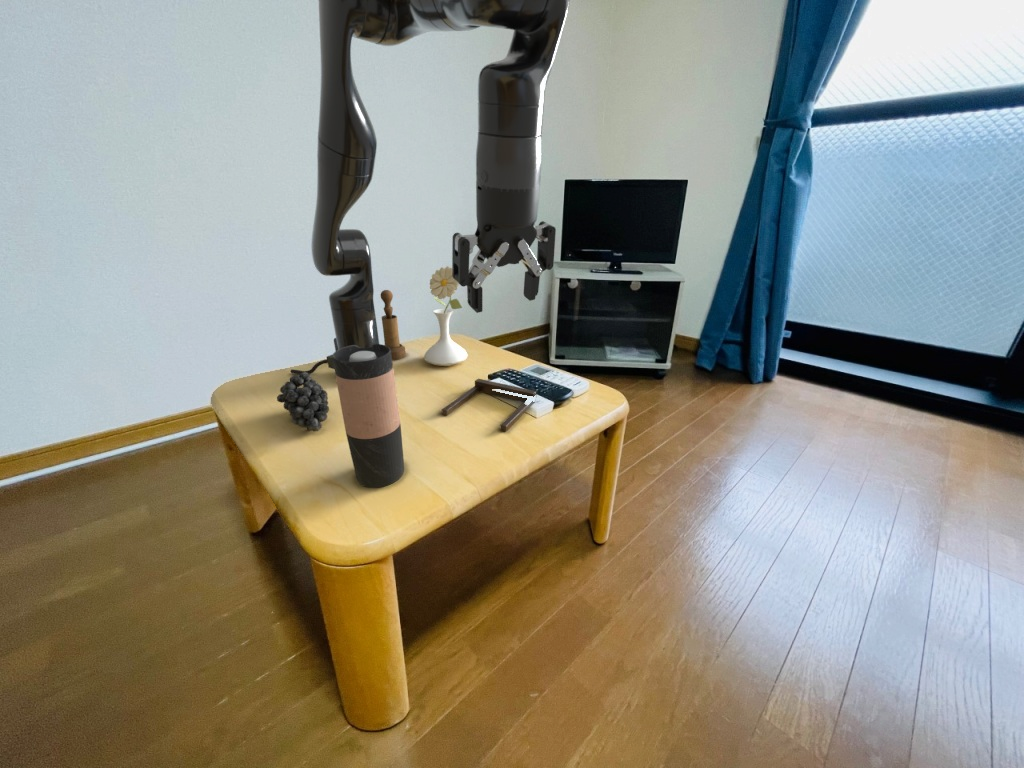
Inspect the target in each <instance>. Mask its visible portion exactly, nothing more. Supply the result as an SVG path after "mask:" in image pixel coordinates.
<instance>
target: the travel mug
mask: <svg viewBox="0 0 1024 768" xmlns="http://www.w3.org/2000/svg"><path fill="white" fill-rule="evenodd" d="M332 354H333V356H332V357H333V364H334V369H333V370H334V375H335V379H336V385H337V391H338V397H339V402H340V403H339V404H340V408H341V414H342V419H343V424H344V430H345V436H346V439H347V443H348V448H349V452H350V456H351V461H352V465H353V470H354V473H355V477H356V480H357V482H358V483H359V484H360V486H363V487H365V488H370V489H371V488H372V489H379V488H383V487H388V486H390V485H393V484H394V483H396V482H398V481H399V480H400V479H401V478H402V476H403V475H404V472H405V459H404V449H403V437H402V435H403V434H402V425H401V416H400V415H401V414H400V410H399V409H400V408H399V402H398V401H399V400H398V395H397V386H396V379H395V372H394V371H395V370H394V363H393V360H392V356H391V350H390V348H389V347H387V346H385V344H380V343H379V344H373V346H371V347H366V348H361V347H358V346H357V345H351V346H347V347H344V348H341V349H339V350H337V351H335V350H334V352H333V353H332Z"/></svg>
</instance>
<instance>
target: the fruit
mask: <svg viewBox="0 0 1024 768" xmlns="http://www.w3.org/2000/svg"><path fill="white" fill-rule="evenodd" d="M310 375H311V374H308V373H307V372H302V373H300V374H292V375H291V376H290V377H289V381H286V382H285V383H284V384H283V385H282V386H281V387H280V388H279V391H280V393H281V394H278V395H277V396H276V401H277V402H278V403H281V404H283V409H284V410H286V411H288V413H289V416H290V418H291V420H292V423H293V424H294V425H298V426H299V427H301V428H305V429H306V430H307V431H313V432H319V431H320V430H321V429H322V428H323V426H322V422H325V421H326V420H327V419H328V412H330V407H329V400H328V399H329V397H328V392H327V391H326V390H325V389H324V388H323V386H322V385H321V383H317V380H316V379H315V378H311V376H310Z"/></svg>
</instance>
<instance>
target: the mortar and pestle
mask: <svg viewBox="0 0 1024 768" xmlns="http://www.w3.org/2000/svg"><path fill="white" fill-rule="evenodd" d="M393 295H394V294H393V292H392V291H391V290H389V289H384V290H382V291H380V299H381V301H382V302H383V303H384V307H383V311H384V314H385V315H382V316H381V324H382V333H383V341H384V345H385V346H387V347H389V348H390V350H391V356H392V361H397V360H401V359H403V358H405V357H406V356H407V352H406V347H405V345H403V344H401V343H400V335H399V323H398V316H397V315H396V314H393V310H394V307H393V306H392V305H391V302H392V300H393V299H394V296H393Z"/></svg>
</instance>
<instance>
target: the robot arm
mask: <svg viewBox="0 0 1024 768" xmlns="http://www.w3.org/2000/svg"><path fill="white" fill-rule="evenodd" d="M570 2H571V0H318V21H319V24H318V25H319V26H318V27H319V50H320V52H319V53H320V92H319V110H318V111H319V113H318V127H317V153H316V154H317V155H316V160H317V161H316V163H317V165H316V167H317V170H316V173H317V175H316V178H317V179H316V201H315V209H314V215H313V216H314V217H313V223H312V224H313V225H312V233H311V244H310V245H311V247H310V248H311V257H312V262H313V265H314V268H315V269H316V271H317V272H318V273H319V274H321V275H322V276H326V277H340V276H341V277H342V276H349V279H348V280H347V282H346V283H345V284H344V285H342V286H341V287H339V288H338V289H337V288H336V289H335V290H333V291H332V292H330V294H328V302H329V306H330V313H331V318H332V324H333V329H334V335H335V337H334V339H333V345H334V352H335V351H337V350H339V349H341V348H344V347H347V346H351V345H357V346H358V347H361V348H366V347H371V346H373V344H380V340H379V339H380V338H379V331H378V324H377V317H376V316H377V315H376V310H375V301H374V293H375V291H374V290H375V289H374V288H375V287H374V280H373V266H372V256H371V249H370V244H369V241H368V238H367V237H366V235H365V233H363V231H361V230H360V229H357V228H356V229H355V228H341V225H342V223H343V221H344V219H345V217H346V216H347V214H348V213H349V211H350V210H351V209H353V207H354V206H355V204H356V203H357V202H358V201H359V200H360V199H361V198H362V196H363V195H364V193H365V192H366V191H367V190H368V188H369V186H370V184H371V182H372V180H373V176H374V173H375V172H374V171H375V164H376V156H377V149H378V140H377V139H378V138H377V134H376V132H375V129H374V124H373V122H372V120H371V118H370V115H369V112H368V110H367V108H366V106H365V104H364V101H363V99H362V97H361V95H360V93H359V90H358V86H357V84H356V80H355V77H354V72H353V65H352V40H353V38H354V39H358V40H361V41H364V42H368V43H372V44H374V45H379V46H383V47H395V46H398V45H401V44H403V43H405V42H408V41H409V40H411V39H413V38H415V37H419V36H420V35H423V34H426V33H430V32H467V31H468V32H469V31H472V30H477V29H479V28H480V27H486V28H496V29H506V30H512V31H513V34H512V37H511V41H510V44H509V48H508V51H507V54H506V56H505V57H504V58H503V59H501V60H496V61H493V62H490V63H488V64H486V65H484V66H483V67H482V68H481V70H480V71H479V73H478V79H477V140H476V141H477V142H476V149H475V188H476V189H475V204H476V206H475V208H476V211H475V212H476V215H475V216H476V224H477V226H476V230H475V232H474V233H473V234H461V232H454V233H453V235H452V245H451V246H452V248H451V249H452V252H451V253H452V256H451V258H452V259H451V260H452V261H451V268H452V277H453V278H454V279H455V280H456V281H457V282H458V283H459V286H461V287H466V291H467V292H466V293H467V297H466V298H467V304H468V306H469V307H470V308H471V309H472V310H473V311H474V312H475V313H477V314H478V313H479V314H480V313H482V312H483V287H482V285H483V283H484V281H485V280H486V278H487V277H488V276H490V275H491V274H492V273H493V271H494V270H495V268H496V267H498V268H500V267H501V268H502V267H505V266H507V265H519V264H520V262H521V263H522V264H523V266H524V267H525V269H526V271H524V280H523V296H524V297H525V298H526V299H527V300H528V301H529V302H531V301H535V300H536V296H538V294H539V288H540V278H541V276H542V273H543V272H545V271H546V270H548V271H550V270H552V269H553V267H554V264H555V263H554V261H555V249H556V247H555V246H556V232H557V229H556V227H555V226H553V225H552V224H549V223H548V222H546V221H544V220H541V221H540V222H539V224H538V225H536V222H537V220H538V212H539V200H540V187H541V178H542V177H541V176H542V175H541V174H542V165H543V161H542V160H543V149H542V148H543V147H542V145H543V143H542V137H543V136H542V134H543V125H544V112H545V111H544V110H545V98H546V97H545V96H546V88H547V85H548V81H549V77H550V75H551V72H552V70H553V69H552V68H553V65H554V62H555V58H556V54H557V51H558V47H559V45H560V41H561V38H562V33H563V31H564V27H565V24H566V20H567V16H568V12H569V8H570ZM535 240H536V241H537V251H536V253H537V254H536V256H535V255H534V253H533V252H532V250H531V247H532V245H533V244H534V242H535ZM475 246H476V247H477V248H478V250H477V252H476V254H475V255H474V257H473V259H472V264H471V266H470V255H471V254H472V253H473V251H474V247H475ZM485 260H486V262H485ZM332 356H333V353H332V354H330V355H327V356H326V359H323V360H320V361H318V362H316V363H315V364H314V365H313V366H312V367H311V368H310V369H309V370H301V369H300V370H299V369H290V373H291V374H294V375H300V373H302V372H307V373H308V374H309V375H311V374H313V373H314V372H315V371H317V369H318V368H319V367H320V366H322V365H325V364H327V367H328V369H332V370H334V364H333V357H332Z"/></svg>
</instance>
